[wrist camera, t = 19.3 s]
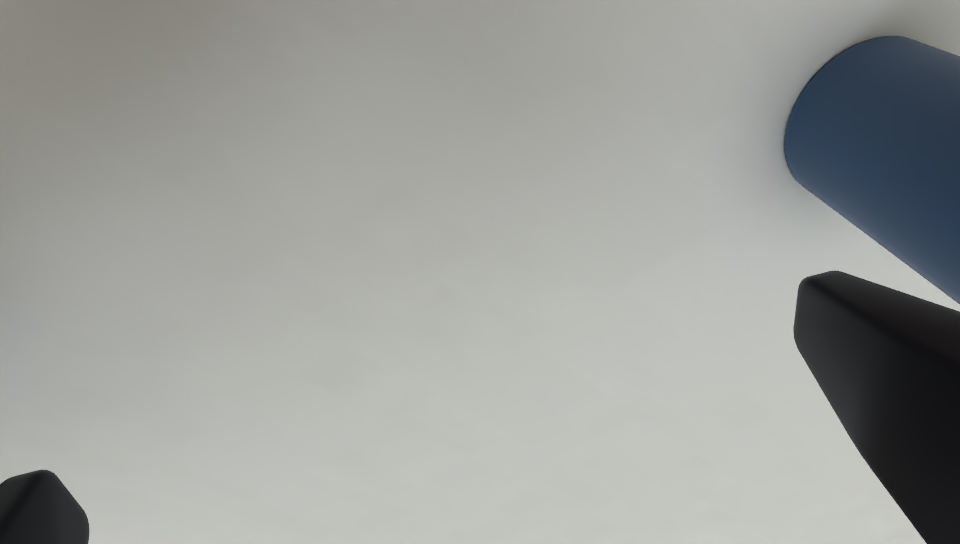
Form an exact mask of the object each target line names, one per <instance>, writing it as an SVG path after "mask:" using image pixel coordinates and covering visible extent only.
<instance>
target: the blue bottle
mask: <svg viewBox="0 0 960 544" xmlns="http://www.w3.org/2000/svg"><path fill="white" fill-rule="evenodd" d="M785 157H786V160H787V164H788V167H789V169H790V171H791V173H792V175H793V176H794V178H795V179H796V180H797V181H798V182H799V183H800V184H801V185H802V186H803V187H804V188H806V189H807V190H808V191H810V192H811V193H812V194H814V195H815V196H816V197H818V198H819V199H820V200H822V201H823V202H824V203H826V204H827V205H828V206H830V207H831V208H832V209H834V210H835V211H836V212H838V213H839V214H840V215H842V216H843V217H844V218H846V219H847V220H848V221H850V222H851V223H852V224H854V225H855V226H856V227H858V228H859V229H860V230H862V231H863V232H864V233H866V234H867V235H868V236H870V237H871V238H872V239H874V240H875V241H876V242H878V243H879V244H880V245H882V246H883V247H884V248H886V249H887V250H888V251H889V252H891V253H892V254H893V255H895V256H896V257H897V258H899V259H900V260H901V261H903V262H904V263H905V264H907V265H908V266H909V267H911V268H912V269H913V270H915V271H916V272H917V273H919V274H920V275H921V276H923V277H924V278H925V279H927V280H928V281H929V282H931V283H932V284H933V285H935V286H936V287H937V288H939V289H940V290H941V291H943V292H944V293H945V294H947V295H948V296H949V297H951V298H952V299H953V300H955V301H956V302H957V303H959V304H960V56H957V55H954V54H951V53H948V52H946V51H943V50H940V49H937V48H934V47H932V46H929V45H926V44H923V43H921V42H918V41H915V40H912V39H909V38H905V37H899V36H886V37H880V38H875V39H871V40H868V41H864V42H862V43H860V44H857V45H855V46H853V47H851V48H849V49H847V50H846V51H844V52H842V53H841V54H839V55H838V56H836V57H835V58H834V59H832V60H831V61H830V62H829V63H828V64H826V65H825V66H824V67H823V68H822V69H821V70H820V71H819V72H818V73H817V74H816V75H815V76H814V77H813V78H812V80H811V81H810V82H809V83H808V85H807V86H806V87H805V89H804V90H803V92H802V93H801V95H800V96H799V98H798V100H797V102H796V104H795V106H794V108H793V110H792V113H791V115H790V118H789V121H788V124H787V128H786V134H785Z"/></svg>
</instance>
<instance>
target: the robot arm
mask: <svg viewBox="0 0 960 544" xmlns="http://www.w3.org/2000/svg"><path fill="white" fill-rule="evenodd" d="M794 339H795V343H796V345H797V348H798V350H799V352H800V353H801V355H802V357H803V358H804V360H805V362H806V363H807V365H808V367H809V369H810V370H811V372H812V374H813V375H814V377H815V379H816V380H817V382H818V384H819V385H820V387H821V389H822V391H823V392H824V394H825V396H826V397H827V399H828V401H829V402H830V404H831V406H832V408H833V409H834V411H835V413H836V414H837V416H838V418H839V419H840V421H841V423H842V425H843V426H844V428H845V430H846V431H847V433H848V435H849V436H850V438H851V440H852V441H853V443H854V444H855V446H856V447H857V449H858V451H859V452H860V454H861V455H862V456H863V458H864V459H865V461H866V462H867V464H868V465H869V466H870V468H871V469H872V471H873V472H874V473H875V475H876V476H877V477H878V479H879V480H880V481H881V483H882V484H883V485H884V487H885V488H886V489H887V491H888V492H889V493H890V495H891V496H892V497H893V499H894V500H895V502H896V503H897V504H898V506H899V507H900V508H901V510H902V511H903V512H904V514H905V515H906V516H907V518H908V519H909V520H910V522H911V523H912V524H913V526H914V527H915V528H916V530H917V531H918V532H919V534H920V535H921V536H922V538H923V539H924V540H925V542H926V543H927V544H960V312H959V311H956V310H953V309H950V308H947V307H944V306H941V305H938V304H935V303H932V302H929V301H926V300H923V299H920V298H917V297H914V296H911V295H909V294H906V293H903V292H900V291H897V290H894V289H891V288H888V287H885V286H882V285H879V284H876V283H873V282H870V281H867V280H864V279H861V278H858V277H855V276H852V275H849V274H846V273H843V272H840V271H829V272H825V273H821V274H817V275H813V276H809V277H806V278H805V279H803V280H802V281H801V283H800V285H799V288H798V295H797V304H796V312H795V321H794ZM88 540H89V523H88V518H87V516H86V514H85V512H84V510H83V509H82V507H81V506H80V505H79V504H78V502H77V501H76V500H75V499H74V497H73V496H72V495H71V494H70V492H69V491H68V490H67V488H66V487H65V486H64V485H63V483H62V482H61V481H60V480H59V478H58V477H57V476H56V475H55V474H54V473H52V472H51V471H48V470H37V471H33V472H29V473H25V474H22V475H18V476H14V477H11V478H9V479H7V480H5V481H4V482H3V483H1V484H0V544H88Z"/></svg>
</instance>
